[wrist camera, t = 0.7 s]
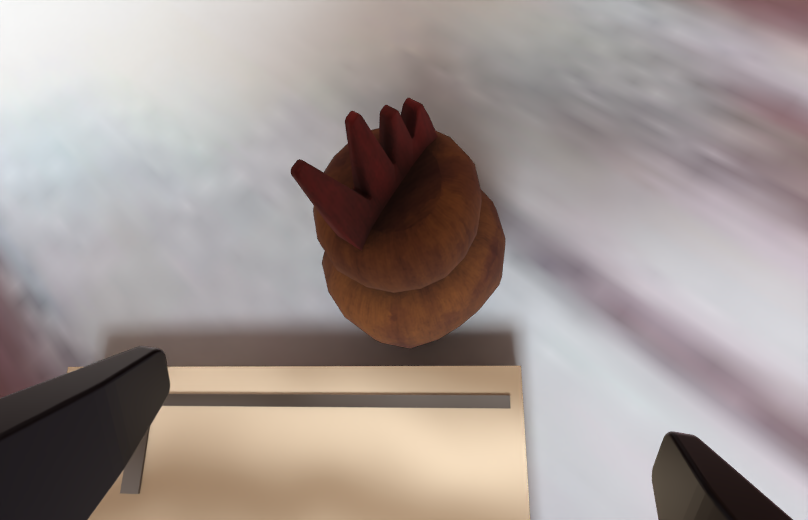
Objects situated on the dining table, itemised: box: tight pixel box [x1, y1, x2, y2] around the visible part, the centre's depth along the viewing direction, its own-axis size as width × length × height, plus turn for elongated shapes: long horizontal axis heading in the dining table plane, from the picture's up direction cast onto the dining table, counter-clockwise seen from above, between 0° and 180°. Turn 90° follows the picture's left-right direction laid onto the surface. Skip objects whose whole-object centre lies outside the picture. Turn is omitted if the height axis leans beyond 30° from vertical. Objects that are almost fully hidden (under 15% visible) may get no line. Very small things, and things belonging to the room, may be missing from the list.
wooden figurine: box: [291, 98, 505, 348], centre depth 16 cm, size 7×6×15 cm
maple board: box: [67, 366, 530, 520], centre depth 20 cm, size 11×20×2 cm, turn 90°
